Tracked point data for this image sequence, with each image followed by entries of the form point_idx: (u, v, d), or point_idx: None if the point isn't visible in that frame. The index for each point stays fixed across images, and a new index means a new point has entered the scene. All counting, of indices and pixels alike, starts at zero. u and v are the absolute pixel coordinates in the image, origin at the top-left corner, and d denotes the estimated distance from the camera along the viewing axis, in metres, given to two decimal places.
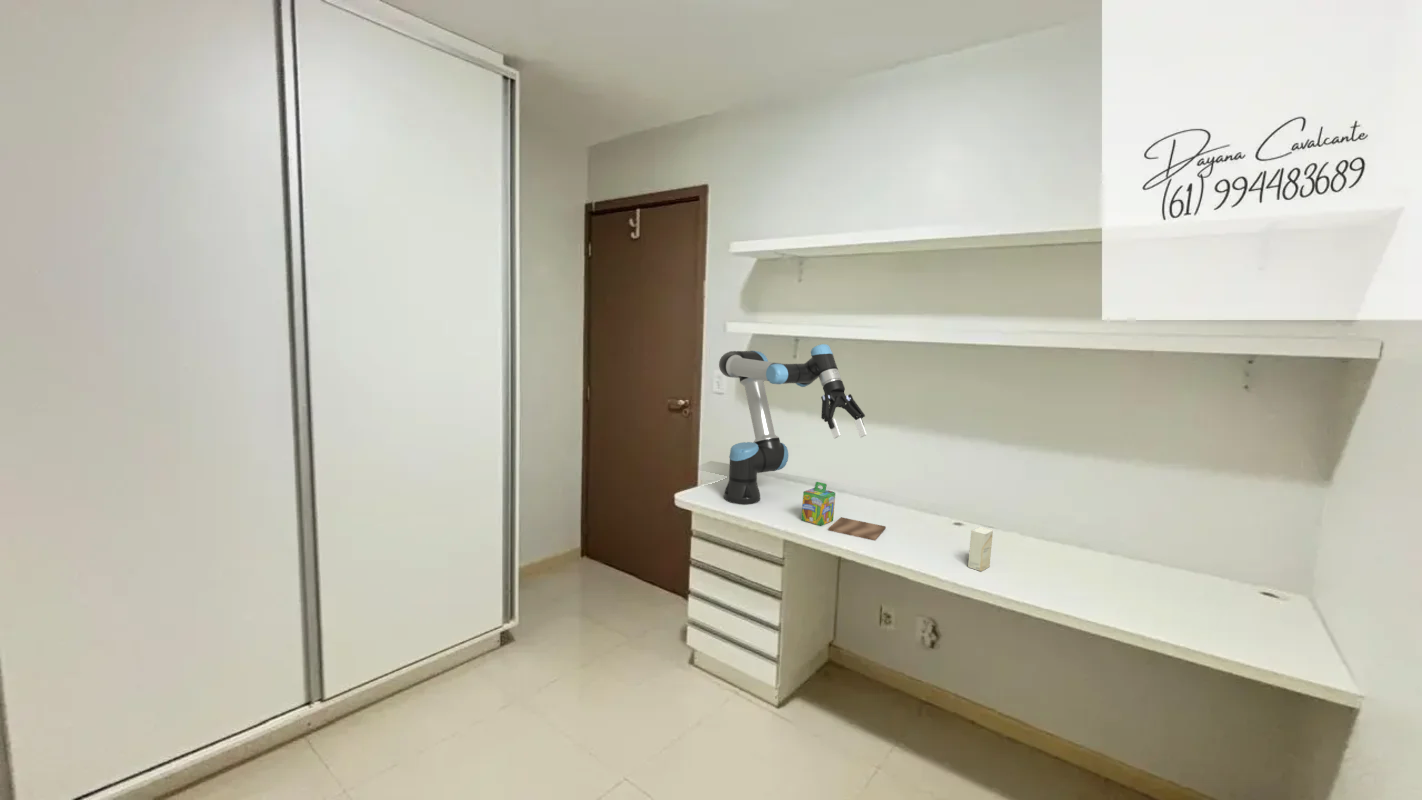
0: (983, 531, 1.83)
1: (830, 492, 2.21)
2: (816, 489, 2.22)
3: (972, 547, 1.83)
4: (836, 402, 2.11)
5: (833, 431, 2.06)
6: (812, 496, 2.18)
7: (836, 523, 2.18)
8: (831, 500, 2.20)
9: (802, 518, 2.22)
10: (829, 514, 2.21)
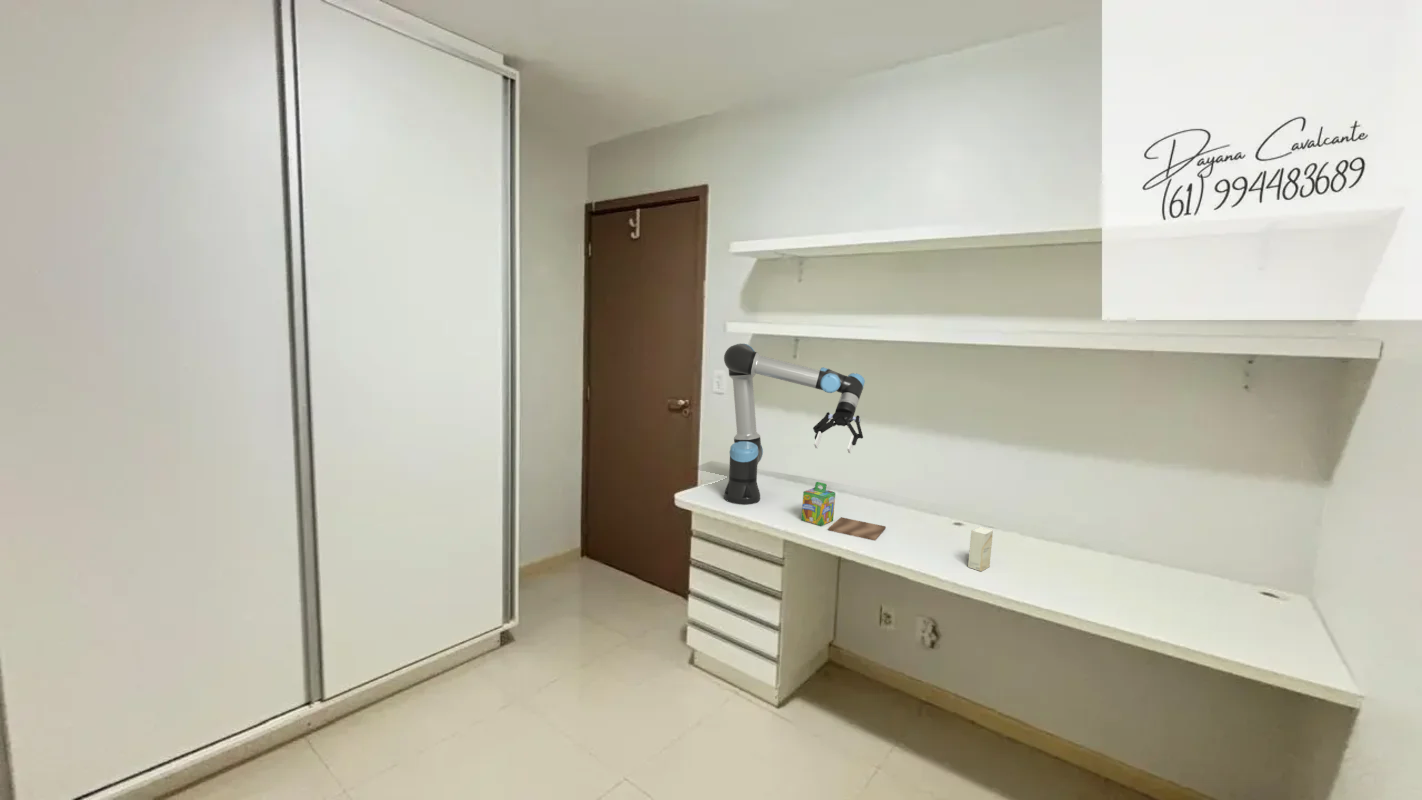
0: (983, 531, 1.83)
1: (830, 492, 2.21)
2: (816, 489, 2.22)
3: (972, 547, 1.83)
4: None
5: (851, 445, 2.26)
6: (812, 496, 2.18)
7: (836, 523, 2.18)
8: (831, 500, 2.20)
9: (802, 518, 2.22)
10: (829, 514, 2.21)
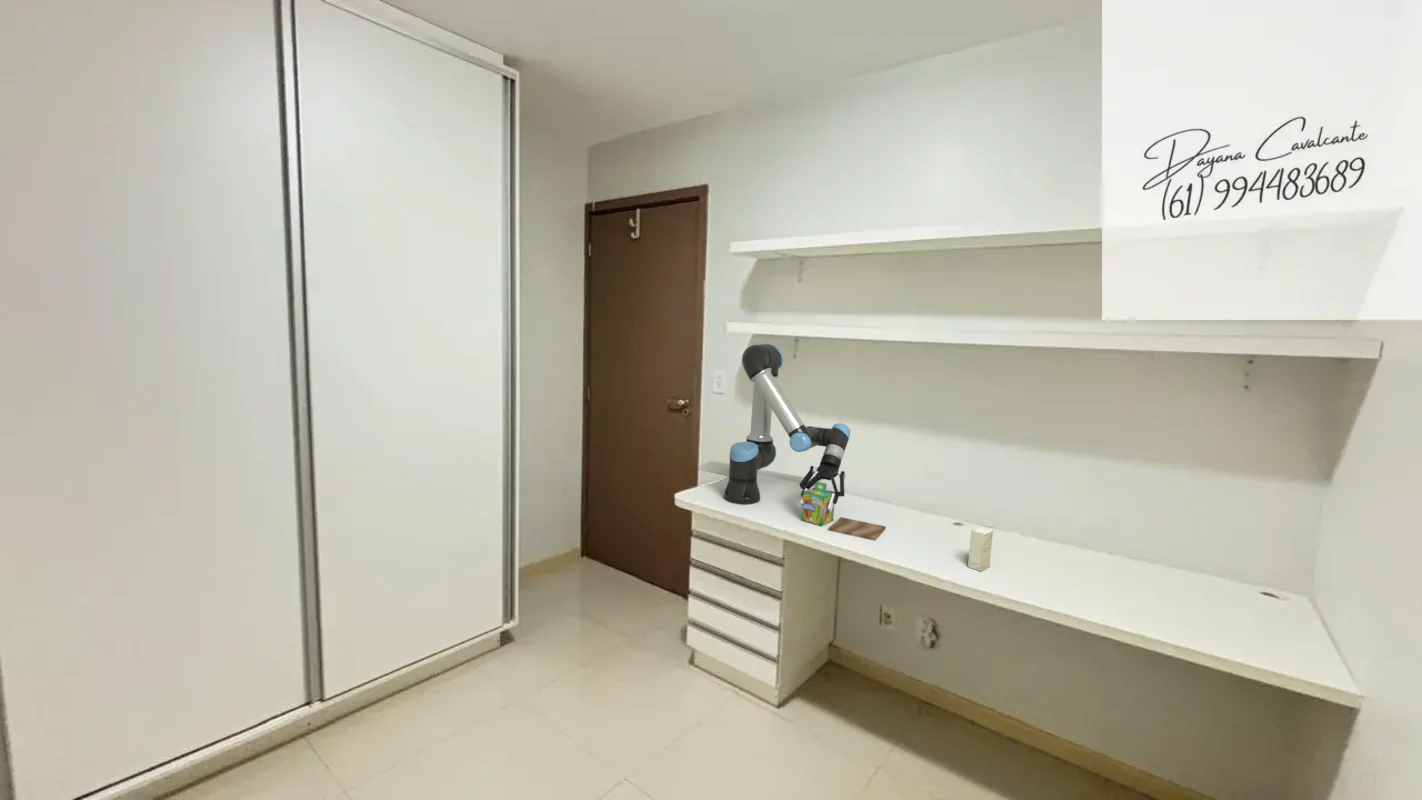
0: (983, 531, 1.83)
1: (830, 492, 2.21)
2: (816, 489, 2.22)
3: (972, 547, 1.83)
4: None
5: (831, 504, 2.17)
6: (812, 496, 2.18)
7: (836, 523, 2.18)
8: None
9: (802, 518, 2.22)
10: (829, 514, 2.21)
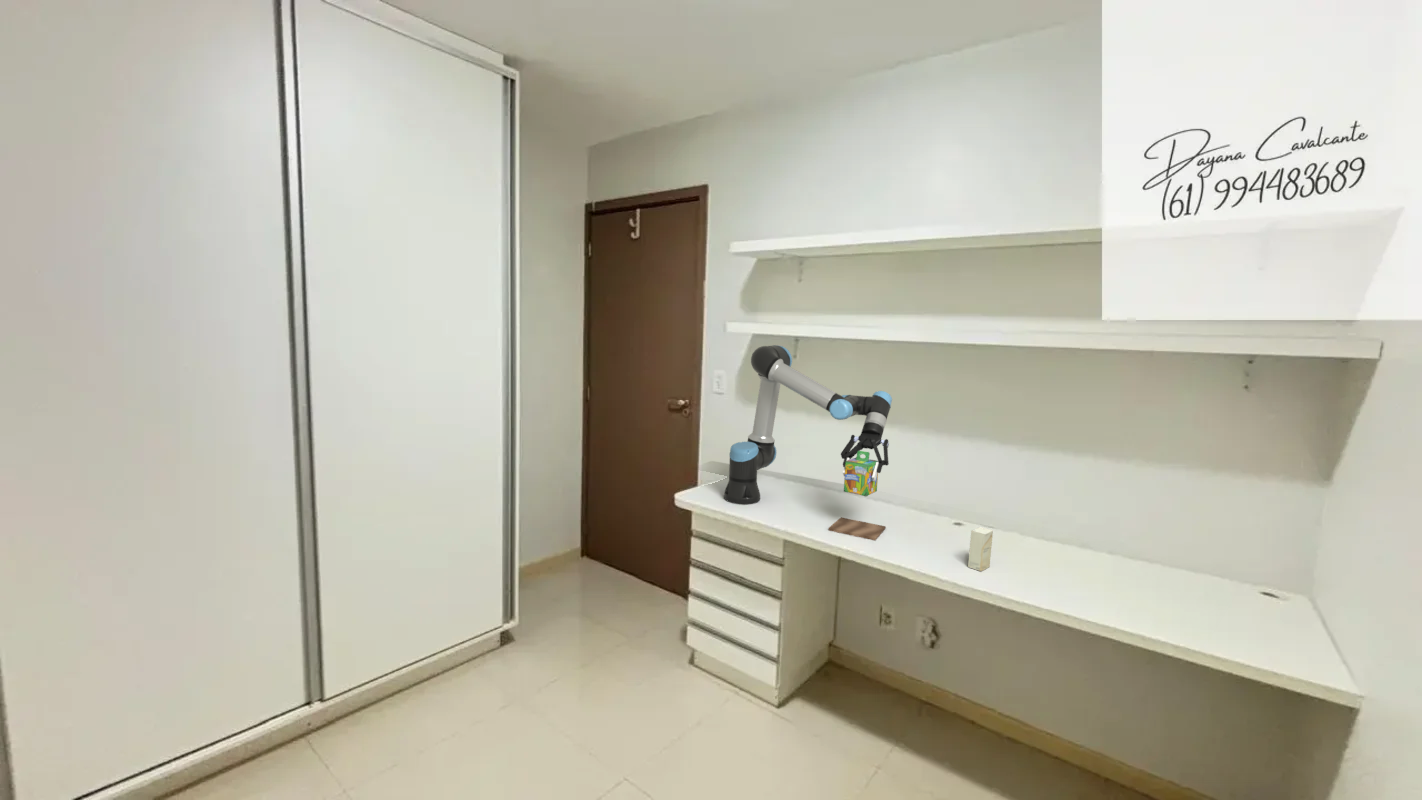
0: (983, 531, 1.83)
1: (873, 461, 2.11)
2: (858, 458, 2.12)
3: (972, 547, 1.83)
4: None
5: (875, 473, 2.07)
6: (856, 465, 2.08)
7: (836, 523, 2.18)
8: None
9: (845, 489, 2.11)
10: (873, 484, 2.10)
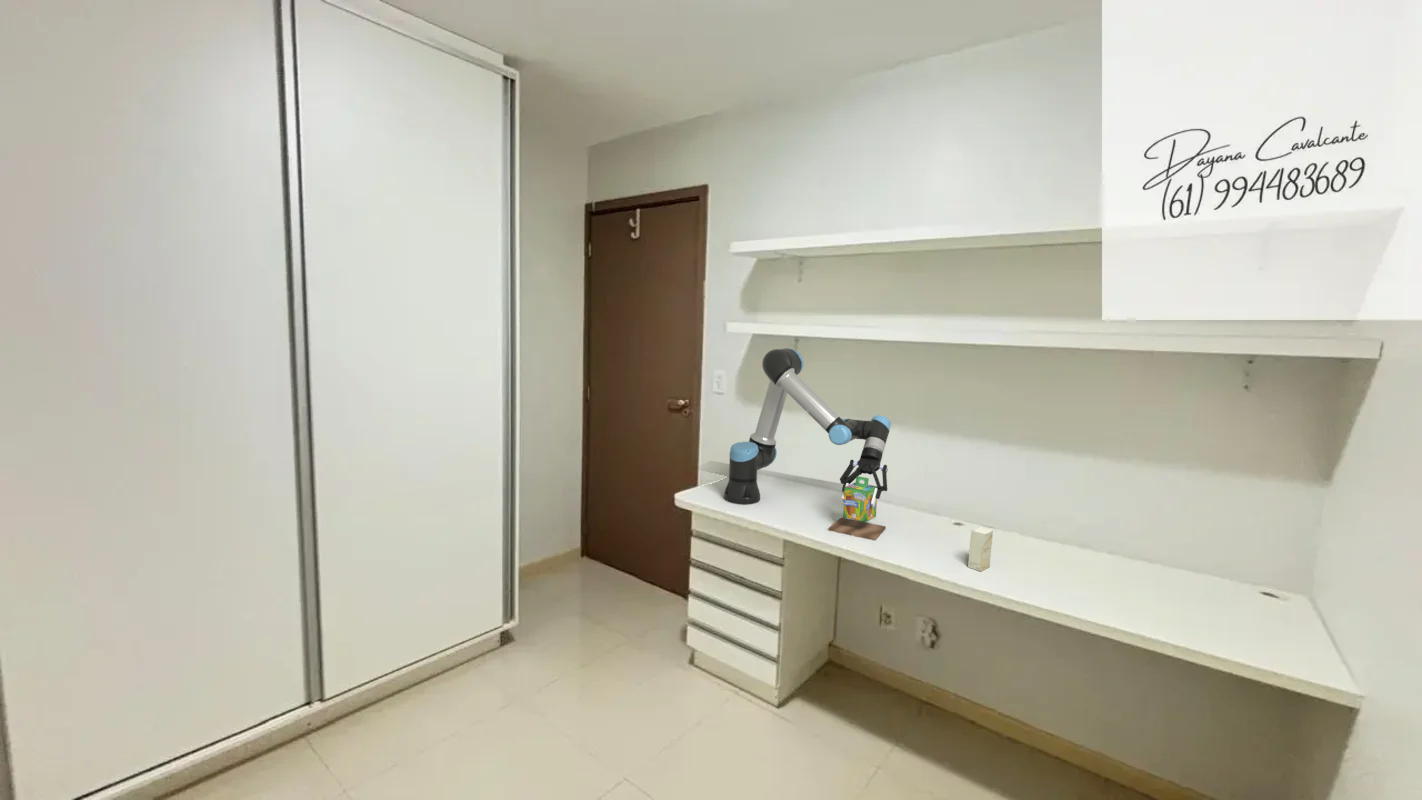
0: (983, 531, 1.83)
1: (872, 486, 2.12)
2: (857, 484, 2.13)
3: (972, 547, 1.83)
4: None
5: (874, 499, 2.08)
6: (855, 491, 2.09)
7: (836, 523, 2.18)
8: None
9: (844, 515, 2.12)
10: (873, 510, 2.12)
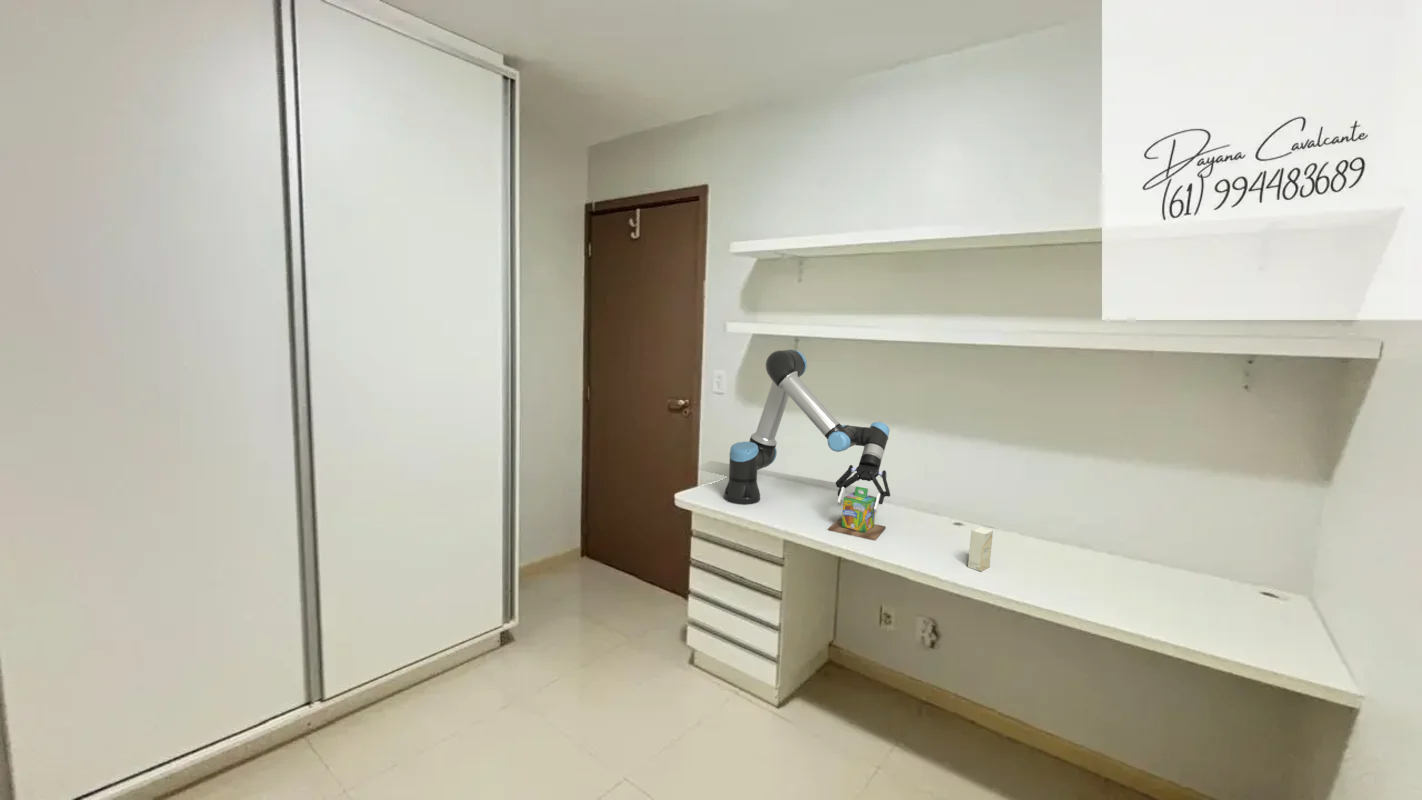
0: (983, 531, 1.83)
1: (871, 497, 2.13)
2: (856, 494, 2.14)
3: (972, 547, 1.83)
4: None
5: (877, 504, 2.09)
6: (854, 502, 2.10)
7: (836, 523, 2.18)
8: (873, 505, 2.12)
9: (842, 525, 2.13)
10: (871, 520, 2.12)
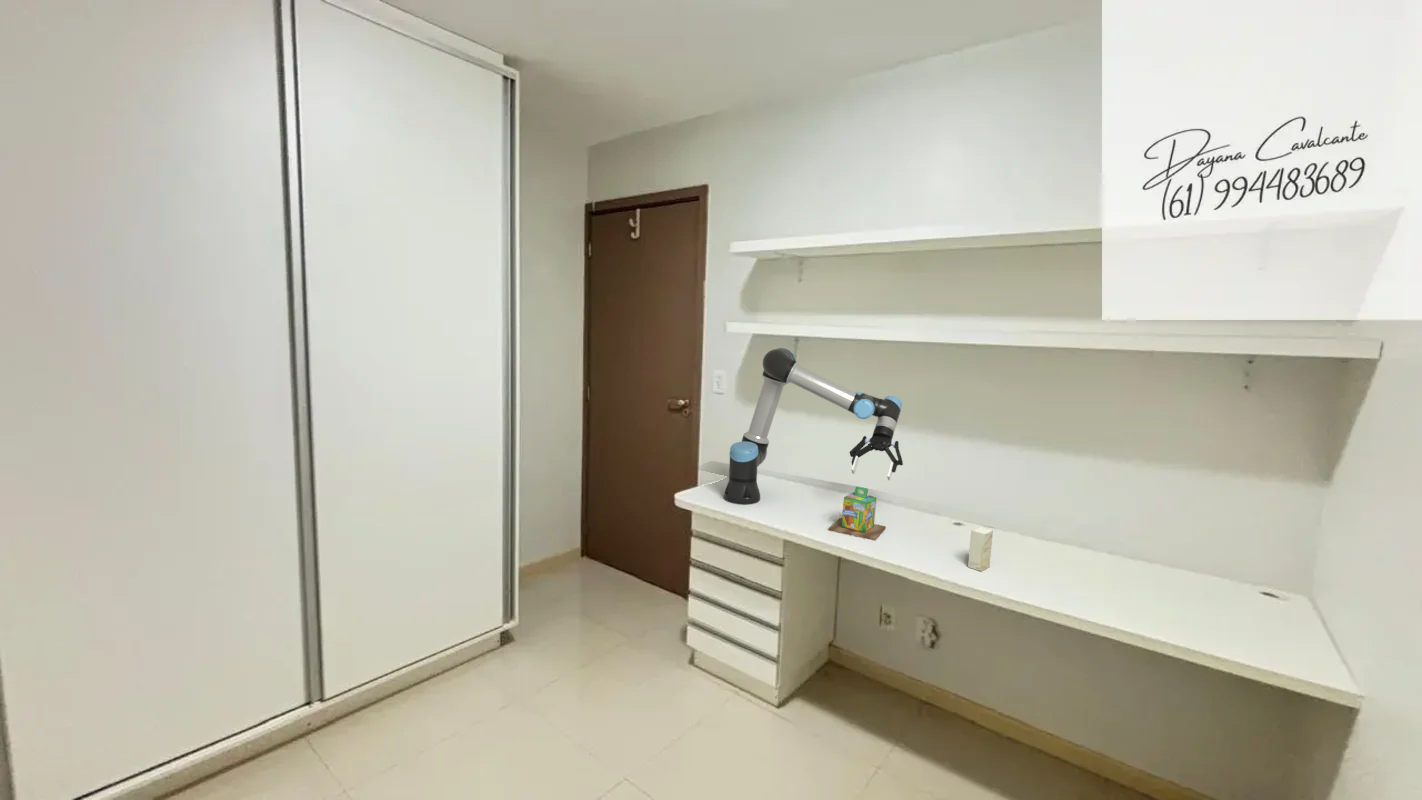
0: (983, 531, 1.83)
1: (871, 497, 2.13)
2: (856, 494, 2.14)
3: (972, 547, 1.83)
4: None
5: (890, 472, 2.19)
6: (854, 502, 2.10)
7: (836, 523, 2.18)
8: (873, 505, 2.12)
9: (842, 525, 2.13)
10: (871, 520, 2.12)
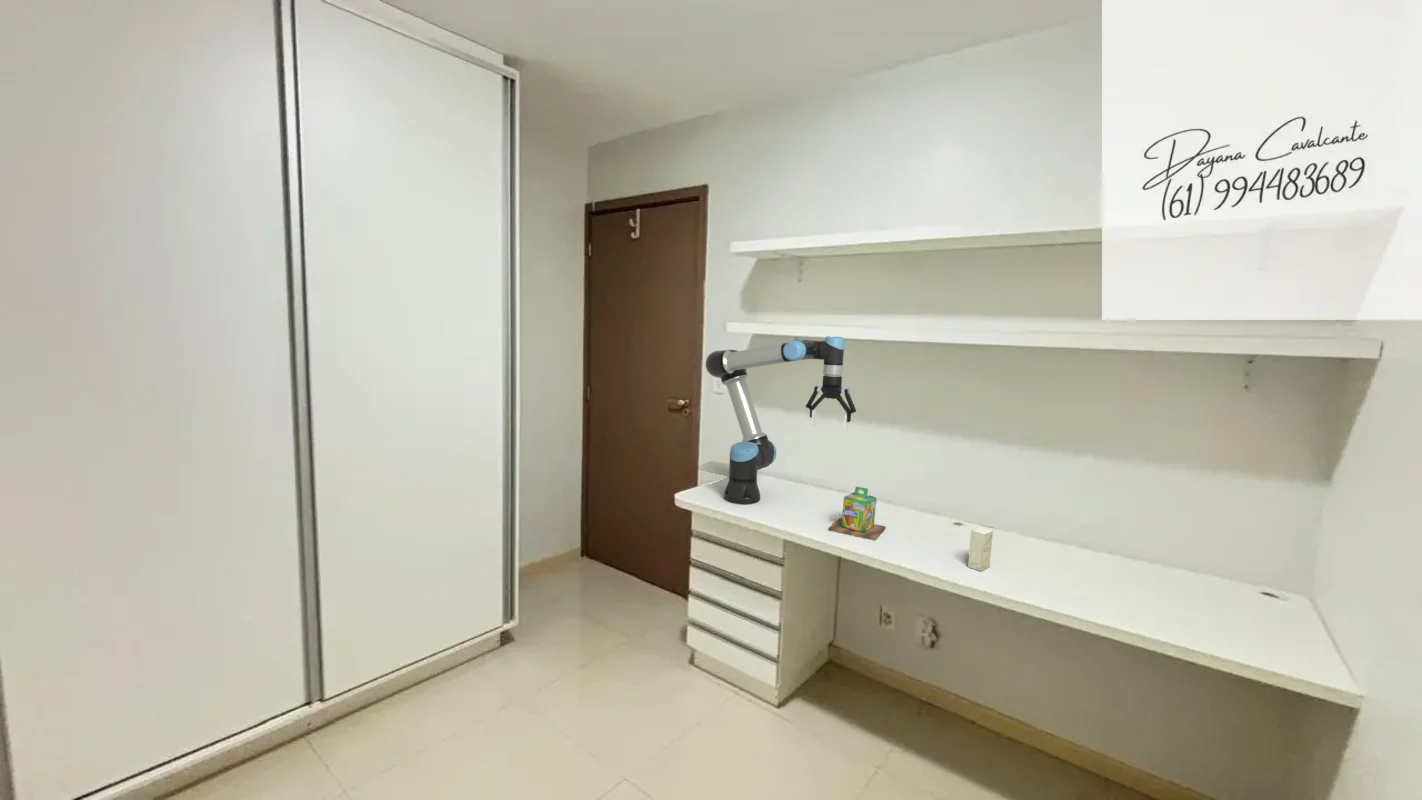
0: (983, 531, 1.83)
1: (871, 497, 2.13)
2: (856, 494, 2.14)
3: (972, 547, 1.83)
4: None
5: (846, 424, 2.32)
6: (854, 502, 2.10)
7: (836, 523, 2.18)
8: (873, 505, 2.12)
9: (842, 525, 2.13)
10: (871, 520, 2.12)
